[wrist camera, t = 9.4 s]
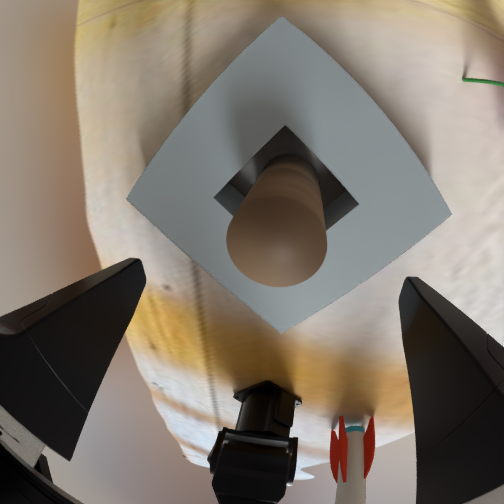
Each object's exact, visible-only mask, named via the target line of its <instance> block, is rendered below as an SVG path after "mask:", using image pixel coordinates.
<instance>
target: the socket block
mask: <svg viewBox="0 0 504 504" xmlns="http://www.w3.org/2000/svg"><path fill="white" fill-rule="evenodd" d="M285 125H286V126H287V127H288V128H289V129H290V130H291V131H292V132H293V133H294V134H295V135H296V136H297V137H298V138H299V139H300V140H301V141H302V142H303V143H304V144H305V145H306V146H307V147H308V148H309V149H310V150H311V151H312V152H313V153H314V154H315V155H316V156H317V157H318V158H319V159H320V160H321V161H322V163H323V164H324V165H325V166H326V167H327V168H328V169H329V170H330V171H331V172H332V173H333V174H334V176H335V177H336V178H337V179H338V180H339V181H340V182H341V183H342V185H343V186H344V187H345V188H346V189H347V190H346V191H345V192H344V193H342V194H341V195H340V196H339V197H338V198H336V199H335V200H334V201H333V202H332V203H330V204H329V205H328V206H327V207H326V208H324V209H323V212H324V220H325V227H326V235H327V253H326V257H325V260H324V262H323V264H322V266H321V267H320V268H319V270H318V271H317V272H316V273H315V274H314V275H313V276H312V277H310V278H309V279H307V280H306V281H304V282H302V283H300V284H297V285H294V286H289V287H271V286H266V285H262V284H259V283H257V282H255V281H253V280H251V279H249V278H248V277H246V276H245V275H244V274H242V273H241V272H240V271H239V270H238V269H237V267H236V266H235V265H234V263H233V262H232V260H231V258H230V256H229V253H228V250H227V245H226V235H227V230H228V226H229V224H230V222H231V220H232V218H233V216H234V215H235V213H236V212H237V210H238V208H239V207H240V205H241V204H242V202H243V200H244V199H245V197H244V196H243V195H242V194H241V193H240V192H239V191H238V190H237V189H236V188H235V187H233V186H232V185H231V184H230V183H229V182H228V181H229V180H230V179H231V178H232V177H233V176H234V175H235V174H236V173H237V172H238V171H239V170H240V169H241V168H242V167H243V166H244V165H245V164H246V163H247V162H248V161H249V160H250V159H251V158H252V157H253V156H254V155H255V154H256V153H257V152H258V151H259V150H260V149H261V148H262V147H263V146H264V145H265V144H266V143H267V142H268V141H269V140H270V139H271V138H272V137H273V136H274V135H275V134H276V133H277V132H278V131H279V130H280V129H281V128H283V127H284V126H285ZM126 200H127V201H128V202H130V203H131V204H132V205H133V206H134V207H135V208H136V209H137V210H138V211H139V212H140V213H141V214H142V215H143V216H145V217H146V218H147V219H148V220H149V221H150V222H151V223H152V224H153V225H154V226H155V227H157V228H158V229H159V230H160V231H161V232H162V233H163V234H164V235H165V236H166V237H168V238H169V239H170V240H171V241H172V242H173V243H174V244H175V245H176V246H178V247H179V248H180V249H181V250H182V251H183V252H184V253H186V254H187V255H188V256H189V257H190V258H191V259H192V260H193V261H195V262H196V263H197V264H198V265H199V266H200V267H202V268H203V269H204V270H205V271H206V272H207V273H208V274H210V275H211V276H212V277H213V278H214V279H215V280H217V281H218V282H219V283H220V284H221V285H223V286H224V287H225V288H226V289H227V290H228V291H230V292H231V293H232V294H233V295H234V296H236V297H237V298H238V299H239V300H240V301H242V302H243V303H244V304H245V305H247V306H248V307H249V308H250V309H251V310H253V311H254V312H255V313H256V314H258V315H259V316H260V317H261V318H262V319H264V320H265V321H266V322H267V323H269V324H270V325H271V326H272V327H274V328H275V329H276V330H277V331H279V332H280V333H283V332H285V331H286V330H288V329H290V328H291V327H293V326H295V325H297V324H298V323H300V322H302V321H303V320H305V319H307V318H308V317H310V316H311V315H313V314H315V313H316V312H318V311H320V310H321V309H323V308H324V307H326V306H327V305H329V304H331V303H332V302H334V301H335V300H337V299H338V298H340V297H341V296H343V295H344V294H346V293H348V292H349V291H351V290H352V289H354V288H355V287H356V286H358V285H359V284H361V283H362V282H364V281H365V280H367V279H368V278H370V277H371V276H373V275H374V274H375V273H377V272H378V271H380V270H381V269H382V268H384V267H385V266H387V265H388V264H389V263H391V262H392V261H394V260H395V259H396V258H398V257H399V256H400V255H402V254H403V253H404V252H406V251H407V250H408V249H410V248H411V247H412V246H414V245H415V244H416V243H417V242H419V241H420V240H421V239H423V238H424V237H425V236H426V235H428V234H429V233H430V232H431V231H433V230H434V229H435V228H436V227H438V226H439V225H440V224H441V223H443V222H444V221H445V220H446V219H447V218H449V217H450V216H451V215H452V213H451V211H450V210H449V208H448V206H447V204H446V202H445V201H444V199H443V197H442V195H441V194H440V192H439V190H438V189H437V187H436V185H435V184H434V182H433V180H432V179H431V177H430V175H429V174H428V172H427V171H426V169H425V168H424V166H423V165H422V163H421V162H420V160H419V159H418V157H417V156H416V154H415V153H414V151H413V150H412V149H411V147H410V146H409V144H408V143H407V142H406V140H405V139H404V138H403V136H402V135H401V134H400V132H399V131H398V130H397V128H396V127H395V126H394V125H393V123H392V122H391V121H390V120H389V118H388V117H387V116H386V115H385V113H384V112H383V111H382V110H381V109H380V107H379V106H378V105H377V104H376V103H375V102H374V101H373V99H372V98H371V97H370V96H369V95H368V94H367V93H366V92H365V90H364V89H363V88H362V87H361V86H360V85H359V84H358V83H357V82H356V81H355V80H354V79H353V78H352V77H351V76H350V75H349V74H348V73H347V72H346V71H345V70H344V69H343V68H342V67H341V66H340V65H339V64H338V63H337V62H336V61H335V60H334V59H333V58H332V57H331V56H330V55H329V54H327V53H326V52H325V51H324V50H323V49H322V48H321V47H320V46H319V45H317V44H316V43H315V42H314V41H313V40H312V39H310V38H309V37H308V36H307V35H306V34H304V33H303V32H302V31H301V30H299V29H298V28H297V27H296V26H294V25H293V24H292V23H290V22H289V21H288V20H286V19H285V18H284V17H282V16H281V17H280V18H279V19H277V20H276V21H275V22H274V23H273V24H272V25H270V26H269V27H268V28H267V29H266V30H265V31H264V32H263V33H262V34H260V35H259V36H258V37H257V38H256V39H255V40H254V41H253V42H252V43H251V44H250V45H249V46H248V47H247V48H246V49H245V50H244V51H243V52H242V53H241V54H240V55H239V56H238V57H237V58H236V59H235V60H234V61H233V62H232V63H231V64H230V65H229V66H228V67H227V68H226V69H225V70H224V71H223V72H222V73H221V74H220V75H219V76H218V77H217V79H216V80H215V81H214V82H213V83H212V84H211V85H210V86H209V87H208V89H207V90H206V91H205V92H204V93H203V94H202V95H201V97H200V98H199V99H198V100H197V101H196V103H195V104H194V105H193V106H192V107H191V109H190V110H189V111H188V112H187V113H186V115H185V116H184V117H183V118H182V120H181V121H180V122H179V123H178V125H177V126H176V127H175V129H174V130H173V131H172V133H171V134H170V135H169V137H168V138H167V139H166V141H165V142H164V143H163V145H162V146H161V147H160V149H159V150H158V152H157V153H156V154H155V156H154V157H153V159H152V160H151V161H150V163H149V164H148V166H147V167H146V169H145V170H144V172H143V173H142V175H141V176H140V178H139V179H138V181H137V182H136V184H135V185H134V187H133V189H132V190H131V192H130V193H129V195H128V197H127V198H126Z"/></svg>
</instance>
